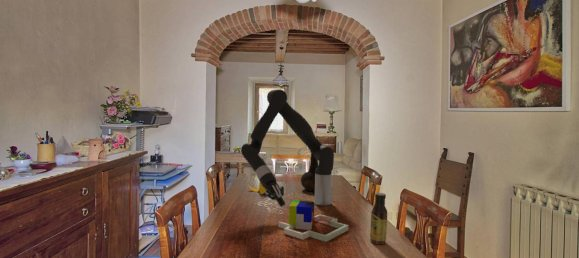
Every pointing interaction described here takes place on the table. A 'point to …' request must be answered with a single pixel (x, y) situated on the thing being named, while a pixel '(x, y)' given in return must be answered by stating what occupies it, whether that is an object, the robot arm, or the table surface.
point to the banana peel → (258, 189)
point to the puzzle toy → (301, 214)
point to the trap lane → (320, 219)
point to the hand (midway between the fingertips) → (283, 205)
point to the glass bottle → (310, 175)
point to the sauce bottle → (379, 220)
